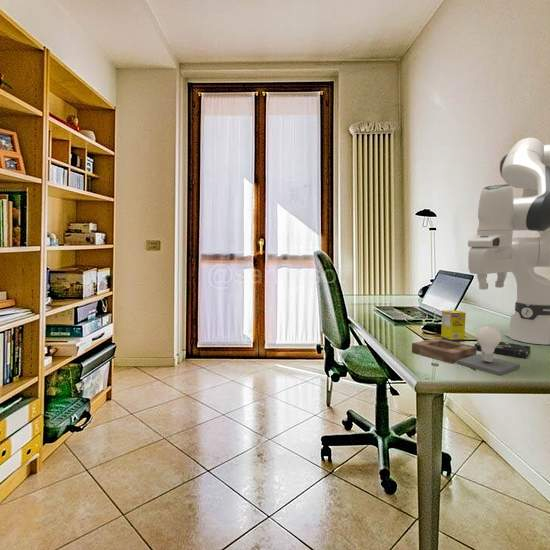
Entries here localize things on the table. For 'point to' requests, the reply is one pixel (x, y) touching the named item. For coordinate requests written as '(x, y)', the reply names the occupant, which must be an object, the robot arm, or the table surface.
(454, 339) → the supplement box
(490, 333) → the lightbulb
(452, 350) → the holder
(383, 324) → the table surface
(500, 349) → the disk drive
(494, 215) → the robot arm
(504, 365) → the mat
